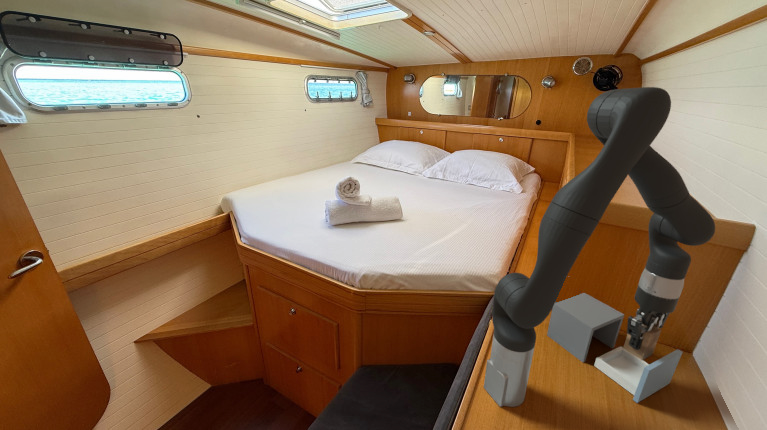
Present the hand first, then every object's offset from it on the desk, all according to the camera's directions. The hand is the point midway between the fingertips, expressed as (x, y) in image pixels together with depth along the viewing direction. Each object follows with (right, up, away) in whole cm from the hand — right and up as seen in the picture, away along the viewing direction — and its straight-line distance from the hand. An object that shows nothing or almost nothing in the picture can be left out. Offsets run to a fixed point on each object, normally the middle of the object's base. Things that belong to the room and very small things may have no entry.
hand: (639, 344), depth 77 cm
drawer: (0, -10, +4) cm, 11 cm away
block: (0, -2, +1) cm, 2 cm away
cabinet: (-5, -6, +16) cm, 18 cm away
